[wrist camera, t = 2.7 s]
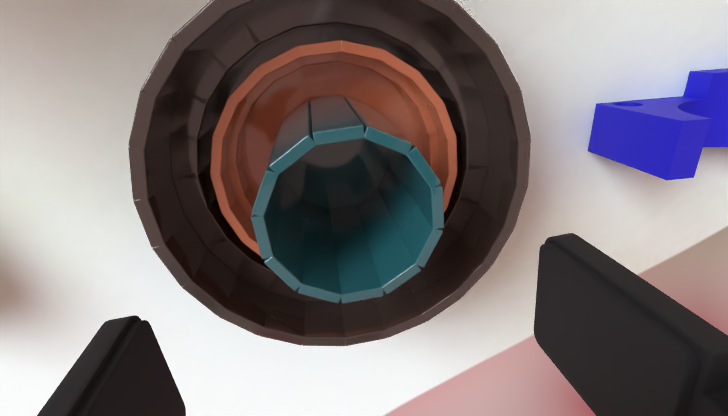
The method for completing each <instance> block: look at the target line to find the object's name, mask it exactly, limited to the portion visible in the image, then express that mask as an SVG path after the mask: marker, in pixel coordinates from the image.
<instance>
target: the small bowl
mask: <svg viewBox="0 0 728 416" xmlns="http://www.w3.org/2000/svg"><path fill="white" fill-rule="evenodd" d="M333 95H334V96H336V95H342V96H348V97H350V98H353V99H356V100H358V101H360V102H362V103H364V104H367V105H369V106H371V107H373V108H374V109H375V110H377V111H378V112H379V113H380V114H381V115H382V116H383V117H384V118H385V119H386V120H388V121H389V122H390V123H391V124H392V125H393V126H394V127H395V128H396V129H397V130H398V131H399V132H401V133H402V134H403V135H404V136H405V137H406V138H407V139H408V140H409V141H410V142H411V143H413V144H414V145H415V146H416V147H417V148H418V150H419V151H420V153H421V154H422V155H423V157H424V158H425V160H426V161H427V163H428V164H429V165H430V167H431V168H432V170H433V171H434V172H435V174H436V175H437V177H438V178H439V180H440V181H441V183H440V185H441V186H442V187H443V209H444V212H445V211H446V209H447V207H448V204H449V201H450V197H451V194H452V191H453V187H454V184H455V180H456V177H457V138H456V134H455V131H454V128H453V126H452V123H451V120H450V117H449V114H448V112H447V109H446V106H445V103H444V102H443V100H442V99H441V98H440V96H439V95H438V94H437V93H436V91H435V90H434V89H433V88H432V86H431V85H430V84H429V83H428V81H427V80H426V79H425V78H424V76H423V75H422V74H421V73H420V72H419V71H418V70H417V69H415V68H414V67H412V66H411V65H409V64H407V63H406V62H404V61H402V60H401V59H399V58H398V57H396V56H394V55H393V54H391V53H390V52H388V51H386V50H384V49H382V48H378V47H373V46H368V45H364V44H359V43H355V42H350V41H345V40H334V41H326V42H319V43H311V44H303V45H298V46H295V47H293V48H291V49H289V50H287V51H285V52H283V53H281V54H279V55H277V56H275V57H273V58H271V59H269V60H267V61H265V62H263V63H262V64H260V65H258V66H257V67H256V68H255V69H254V70H253V71H252V72H251V73H250V74H249V75H248V76H247V77H246V79H245V80H244V81H243V82H242V83H241V84H240V85H239V86H238V87H237V88H236V89H235V90H234V91H233V93H232V94H231V95H230V96H229V98H228V99H227V101H226V104H225V106H224V108H223V111H222V113H221V115H220V118H219V120H218V123H217V125H216V127H215V130H214V132H213V136H212V146H211V166H210V175H211V176H210V177H211V180H212V184H213V187H214V190H215V194H216V197H217V200H218V204H219V207H220V211H221V212H222V214H223V216H224V217H225V218H226V220H227V221H228V223H229V224H230V226H231V227H232V228H233V230H234V231H235V233H236V234H237V236H238V237H239V238H240V240H241V241H242V242H243V243H244V244H245V245H246V246H248V247H249V248H250V249H252V250H253V251H254V252H256V253H257V254H258V255H260V251H259V247H258V243H257V239H256V236H255V232H254V228H253V224H252V220H251V217H252V213H251V211H252V208H253V205H254V202H255V199H256V196H257V193H258V190H259V187H260V184H261V181H262V178H263V175H264V172H265V169H266V166H267V163H268V160H269V157H270V154H271V151H272V148H273V145H274V142H275V139H276V136H277V134H278V131H279V128H280V125H281V123H283V120H284V119H285V118H286V117H288V116H289V115H290V114H291V113H292V112H293V111H294V110H295V109H296V108H298V107H299V106H301V105H302V104H304V103H305V102H306V101H310V99H315V98H319V97H323V96H333ZM260 256H261V255H260Z"/></svg>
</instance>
